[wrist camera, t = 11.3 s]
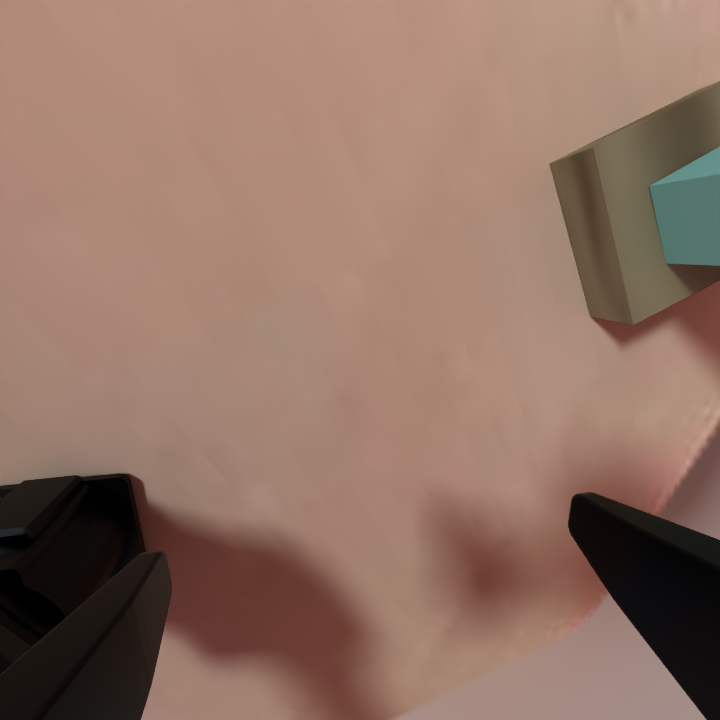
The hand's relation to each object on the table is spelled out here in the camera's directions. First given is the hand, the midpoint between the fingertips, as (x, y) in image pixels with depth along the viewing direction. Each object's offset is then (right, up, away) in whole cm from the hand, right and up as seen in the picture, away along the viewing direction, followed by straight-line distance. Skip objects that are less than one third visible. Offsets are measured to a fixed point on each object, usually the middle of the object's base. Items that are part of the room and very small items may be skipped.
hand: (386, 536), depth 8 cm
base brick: (+15, +12, +14) cm, 24 cm away
